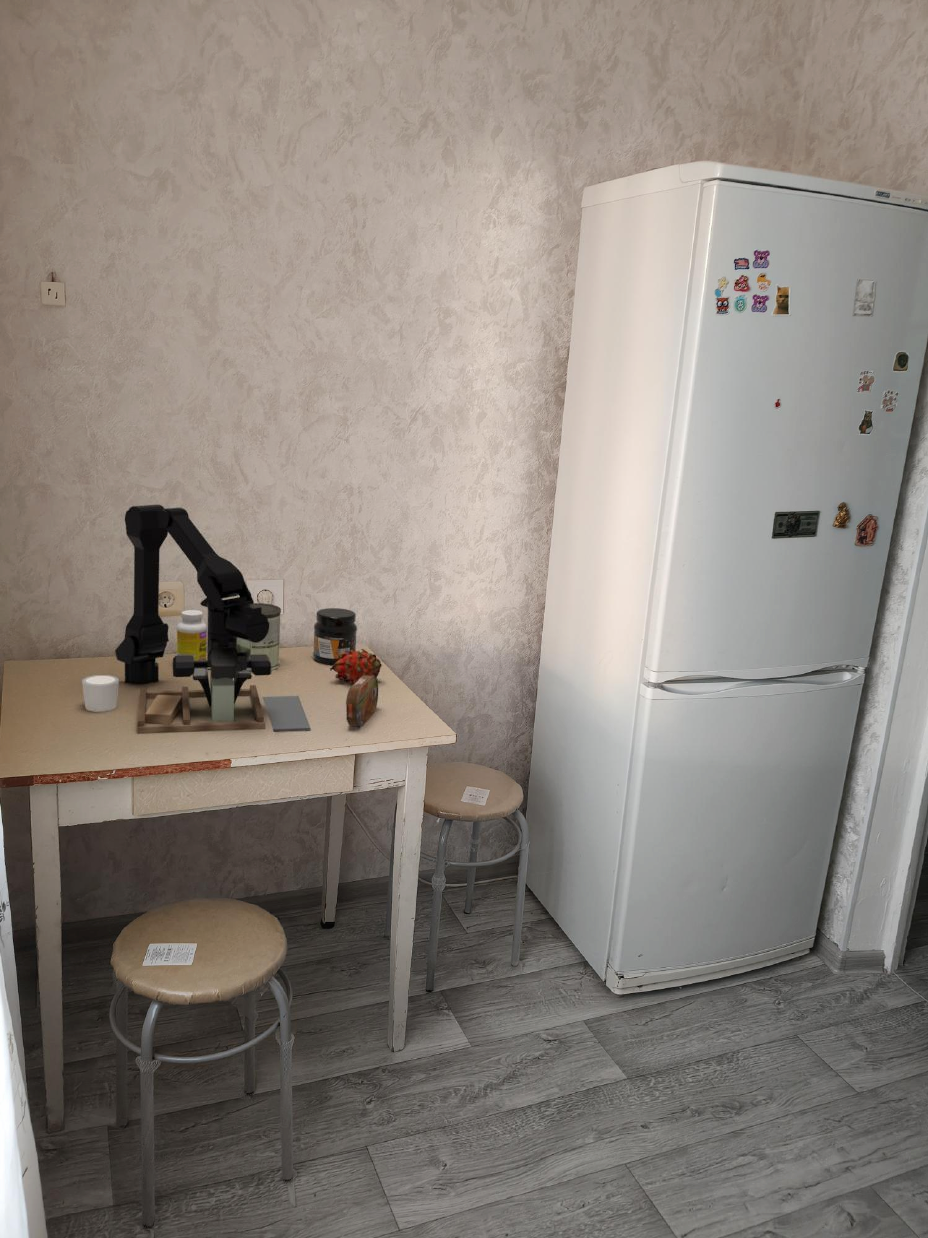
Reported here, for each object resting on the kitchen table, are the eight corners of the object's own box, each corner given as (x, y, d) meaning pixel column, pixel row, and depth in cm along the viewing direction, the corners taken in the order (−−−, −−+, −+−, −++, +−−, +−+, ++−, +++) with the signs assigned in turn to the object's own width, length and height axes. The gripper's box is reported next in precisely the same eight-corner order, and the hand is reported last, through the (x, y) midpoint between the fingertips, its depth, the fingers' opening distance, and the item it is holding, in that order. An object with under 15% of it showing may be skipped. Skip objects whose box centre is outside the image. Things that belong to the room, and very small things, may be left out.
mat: (267, 731, 185) (267, 729, 185) (258, 699, 203) (258, 696, 203) (310, 730, 188) (310, 728, 188) (298, 698, 205) (298, 695, 205)
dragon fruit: (384, 689, 220) (333, 697, 217) (378, 660, 225) (327, 667, 222) (385, 668, 213) (332, 676, 211) (378, 638, 218) (327, 646, 216)
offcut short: (145, 723, 182) (144, 713, 181) (157, 704, 192) (157, 694, 192) (170, 724, 182) (170, 714, 182) (182, 705, 193) (182, 695, 192)
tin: (357, 732, 189) (359, 692, 187) (342, 730, 190) (344, 690, 187) (378, 708, 203) (381, 671, 201) (364, 706, 204) (366, 669, 202)
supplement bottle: (201, 670, 218) (202, 617, 215) (173, 668, 218) (173, 614, 215) (209, 662, 225) (210, 610, 222) (182, 660, 225) (182, 607, 222)
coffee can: (228, 669, 221) (229, 611, 217) (244, 657, 231) (245, 601, 227) (271, 674, 220) (272, 615, 216) (285, 662, 229) (286, 605, 226)
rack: (137, 740, 177) (137, 722, 176) (140, 702, 196) (140, 686, 195) (265, 735, 184) (265, 718, 183) (256, 699, 202) (256, 684, 202)
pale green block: (212, 729, 185) (212, 686, 182) (209, 708, 196) (210, 666, 194) (233, 729, 186) (234, 685, 184) (229, 707, 197) (230, 666, 195)
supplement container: (319, 667, 228) (321, 619, 225) (307, 654, 237) (309, 608, 234) (361, 664, 232) (363, 617, 229) (348, 652, 241) (350, 606, 238)
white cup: (126, 711, 191) (126, 678, 189) (103, 721, 184) (103, 687, 183) (98, 704, 193) (98, 672, 191) (74, 715, 186) (74, 681, 185)
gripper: (173, 643, 176) (173, 722, 180) (274, 642, 182) (272, 718, 186) (172, 627, 186) (172, 702, 190) (269, 627, 192) (267, 699, 196)
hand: (221, 706), depth 190 cm, fingers closed on pale green block, 4 cm apart
